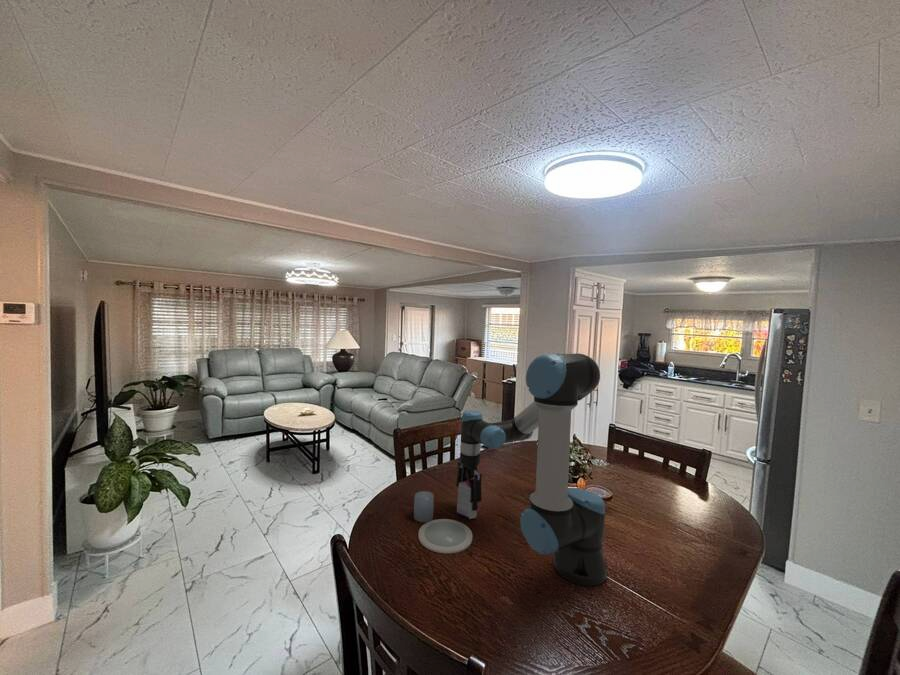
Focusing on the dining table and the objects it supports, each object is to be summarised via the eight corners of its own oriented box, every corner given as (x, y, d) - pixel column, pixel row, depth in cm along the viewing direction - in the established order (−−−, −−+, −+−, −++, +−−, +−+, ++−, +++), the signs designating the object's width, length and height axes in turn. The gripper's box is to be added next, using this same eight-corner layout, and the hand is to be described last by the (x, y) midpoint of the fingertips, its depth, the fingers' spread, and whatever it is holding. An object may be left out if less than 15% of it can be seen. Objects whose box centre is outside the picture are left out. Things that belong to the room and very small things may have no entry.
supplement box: (469, 519, 136) (470, 488, 136) (456, 513, 140) (457, 483, 139) (478, 513, 141) (479, 483, 140) (465, 507, 144) (466, 478, 144)
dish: (482, 545, 121) (482, 541, 121) (432, 559, 113) (432, 555, 113) (456, 517, 137) (456, 514, 137) (410, 528, 129) (410, 524, 129)
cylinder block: (436, 519, 135) (437, 498, 135) (418, 523, 132) (419, 501, 131) (428, 510, 141) (429, 489, 141) (410, 514, 138) (411, 493, 138)
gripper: (494, 460, 132) (490, 524, 133) (465, 442, 150) (462, 498, 151) (475, 463, 128) (472, 528, 129) (448, 444, 146) (446, 502, 147)
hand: (467, 512), depth 140 cm, fingers closed on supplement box, 7 cm apart
